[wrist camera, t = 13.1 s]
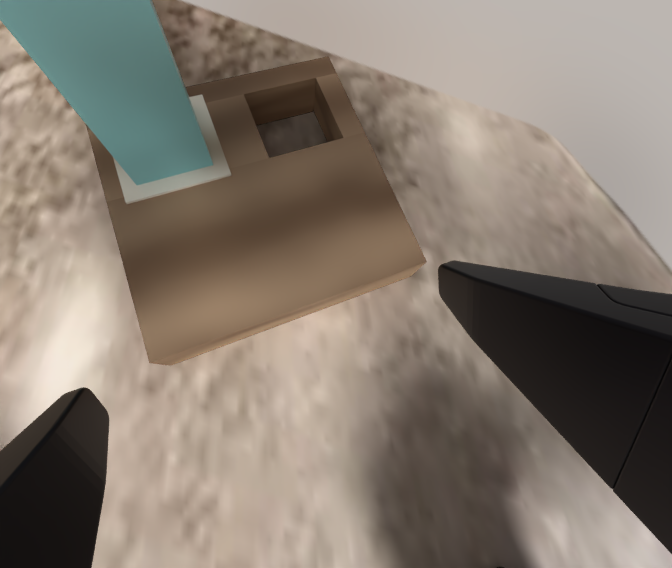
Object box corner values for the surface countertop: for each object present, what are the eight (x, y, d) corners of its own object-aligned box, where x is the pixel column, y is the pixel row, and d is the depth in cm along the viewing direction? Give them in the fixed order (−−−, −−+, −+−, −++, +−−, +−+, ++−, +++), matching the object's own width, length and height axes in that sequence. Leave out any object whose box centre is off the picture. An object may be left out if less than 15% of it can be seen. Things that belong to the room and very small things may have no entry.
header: (410, 276, 23) (427, 260, 20) (170, 365, 20) (147, 362, 17) (325, 91, 27) (328, 53, 24) (108, 142, 24) (80, 107, 20)
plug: (213, 165, 20) (96, -136, 9) (136, 185, 20) (-113, -118, 8) (192, 106, 21) (60, -239, 9) (118, 123, 20) (-129, -233, 9)
